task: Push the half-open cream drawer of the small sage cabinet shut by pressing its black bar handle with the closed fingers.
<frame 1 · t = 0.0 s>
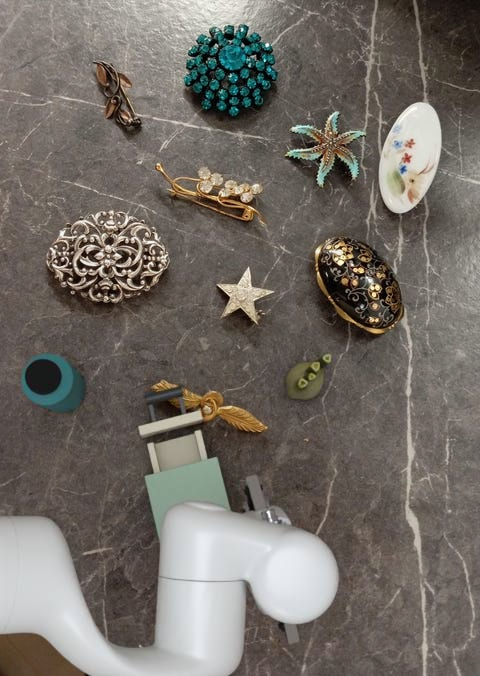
hand: (265, 551, 102), 18 cm above the counter, tool pointing down, fingers open, 9 cm apart
drawer: (174, 440, 118), point 4 cm above the counter, slide at 5.0 cm
fennel bulb: (302, 383, 125), on the counter
beverage bottle: (64, 391, 123), on the counter
cabinet: (190, 506, 120), on the counter
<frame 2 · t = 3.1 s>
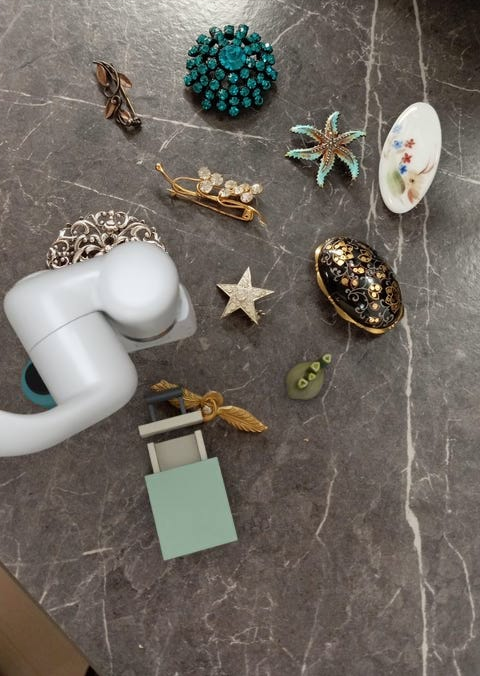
hand: (151, 332, 108), 17 cm above the counter, tool pointing down, fingers closed
nothing on the counter moved.
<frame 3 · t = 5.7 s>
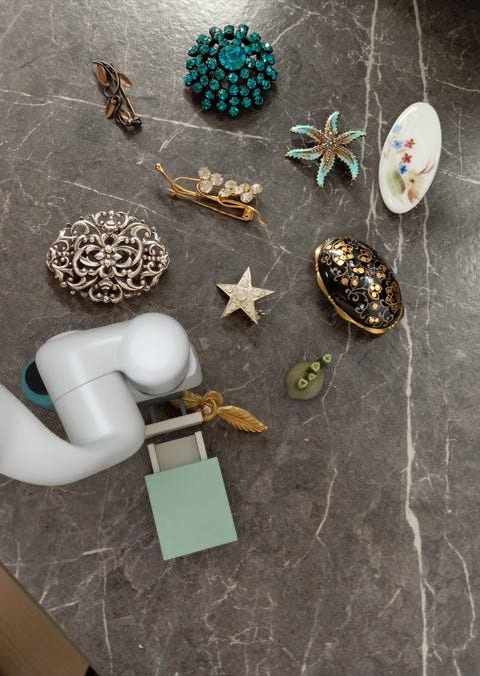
hand: (160, 380, 119), 5 cm above the counter, tool pointing down, fingers closed
drawer: (175, 441, 118), point 4 cm above the counter, slide at 4.8 cm, touching gripper
everything else where it was.
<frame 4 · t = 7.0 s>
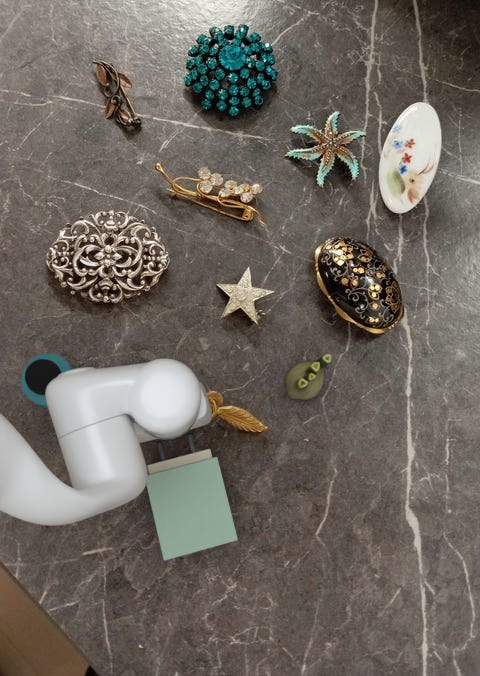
hand: (168, 416, 118), 5 cm above the counter, tool pointing down, fingers closed
drawer: (183, 478, 117), point 4 cm above the counter, slide at 0.0 cm, touching cabinet, gripper
everything else where it was.
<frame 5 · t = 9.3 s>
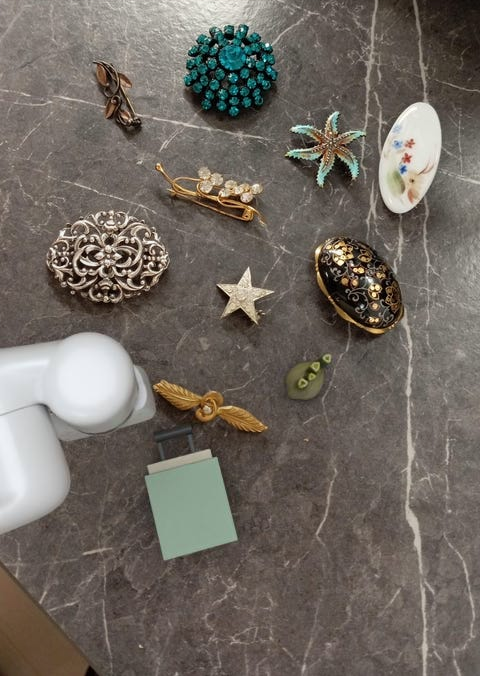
hand: (107, 410, 100), 23 cm above the counter, tool pointing down, fingers closed
drawer: (183, 478, 117), point 4 cm above the counter, slide at 0.0 cm, touching cabinet
everything else where it was.
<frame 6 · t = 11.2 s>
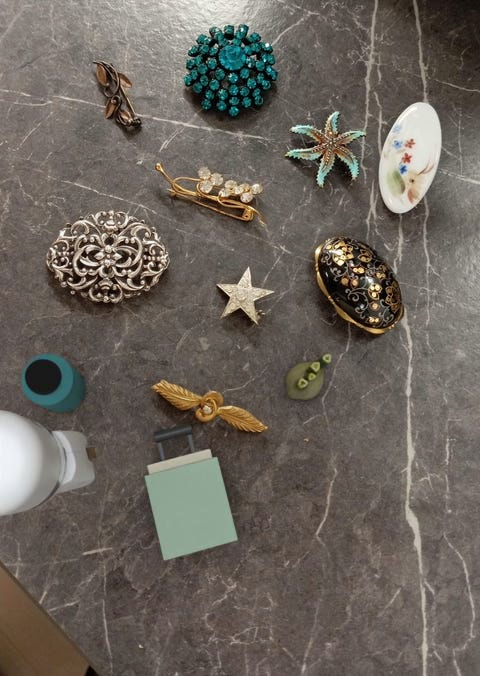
hand: (50, 468, 92), 29 cm above the counter, tool pointing down, fingers closed
nothing on the counter moved.
at the end: drawer slide at 0.0 cm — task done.
